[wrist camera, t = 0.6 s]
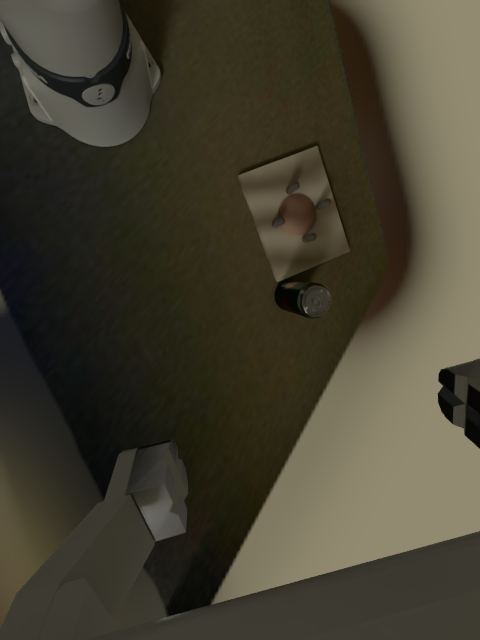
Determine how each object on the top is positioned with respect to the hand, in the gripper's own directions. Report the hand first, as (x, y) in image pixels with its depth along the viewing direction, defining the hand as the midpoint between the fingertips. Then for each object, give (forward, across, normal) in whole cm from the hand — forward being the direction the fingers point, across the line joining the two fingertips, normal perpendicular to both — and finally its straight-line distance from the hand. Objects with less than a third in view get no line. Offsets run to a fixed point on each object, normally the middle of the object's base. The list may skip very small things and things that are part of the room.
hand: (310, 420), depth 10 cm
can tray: (+48, -13, 0) cm, 49 cm away
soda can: (+44, -9, +13) cm, 47 cm away
